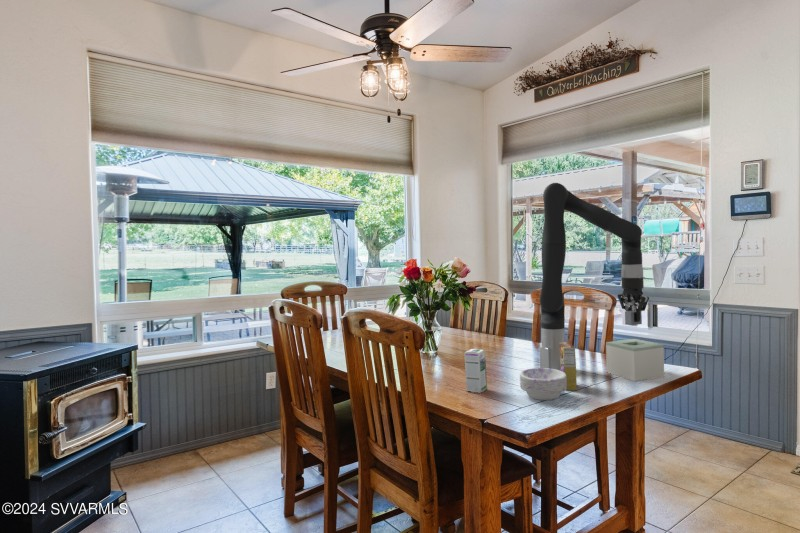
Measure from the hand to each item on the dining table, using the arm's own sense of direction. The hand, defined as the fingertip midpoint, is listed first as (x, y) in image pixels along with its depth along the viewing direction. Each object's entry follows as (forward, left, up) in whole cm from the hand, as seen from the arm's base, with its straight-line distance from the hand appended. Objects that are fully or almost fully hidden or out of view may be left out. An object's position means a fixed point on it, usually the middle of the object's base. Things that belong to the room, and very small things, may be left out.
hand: (633, 321), depth 184 cm
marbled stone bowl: (-46, -7, -21) cm, 51 cm away
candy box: (-32, -2, -21) cm, 38 cm away
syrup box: (-63, +9, -21) cm, 67 cm away
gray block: (0, 0, -1) cm, 1 cm away
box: (0, 0, -21) cm, 21 cm away
